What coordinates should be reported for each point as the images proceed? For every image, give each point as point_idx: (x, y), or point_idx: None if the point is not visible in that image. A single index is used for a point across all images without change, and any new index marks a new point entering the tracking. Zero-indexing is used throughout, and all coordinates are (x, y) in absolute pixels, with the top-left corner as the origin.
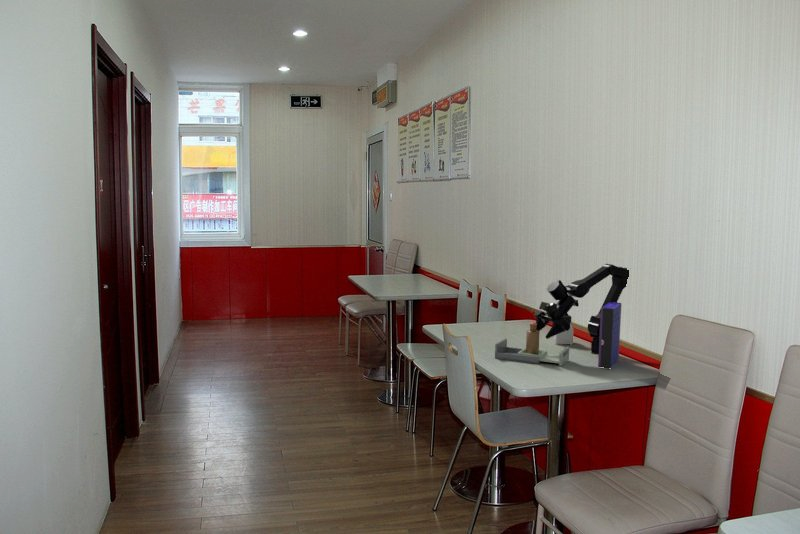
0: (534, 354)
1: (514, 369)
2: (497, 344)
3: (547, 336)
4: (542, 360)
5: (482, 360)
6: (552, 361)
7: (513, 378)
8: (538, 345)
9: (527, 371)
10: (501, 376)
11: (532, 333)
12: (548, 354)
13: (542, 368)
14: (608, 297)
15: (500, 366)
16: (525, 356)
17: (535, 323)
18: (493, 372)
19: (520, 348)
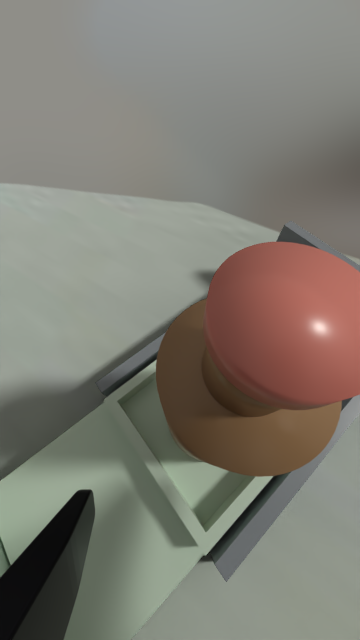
0: (138, 380)
1: (85, 255)
2: (286, 229)
3: (61, 518)
4: (92, 414)
5: (242, 225)
6: (32, 459)
7: (2, 208)
8: (172, 435)
9: (34, 280)
10: (42, 193)
11: (175, 325)
12: (186, 561)
13: (28, 361)
14: None
15: (144, 237)
16: (160, 336)
17: (251, 333)
18: (91, 194)
19: (355, 417)
